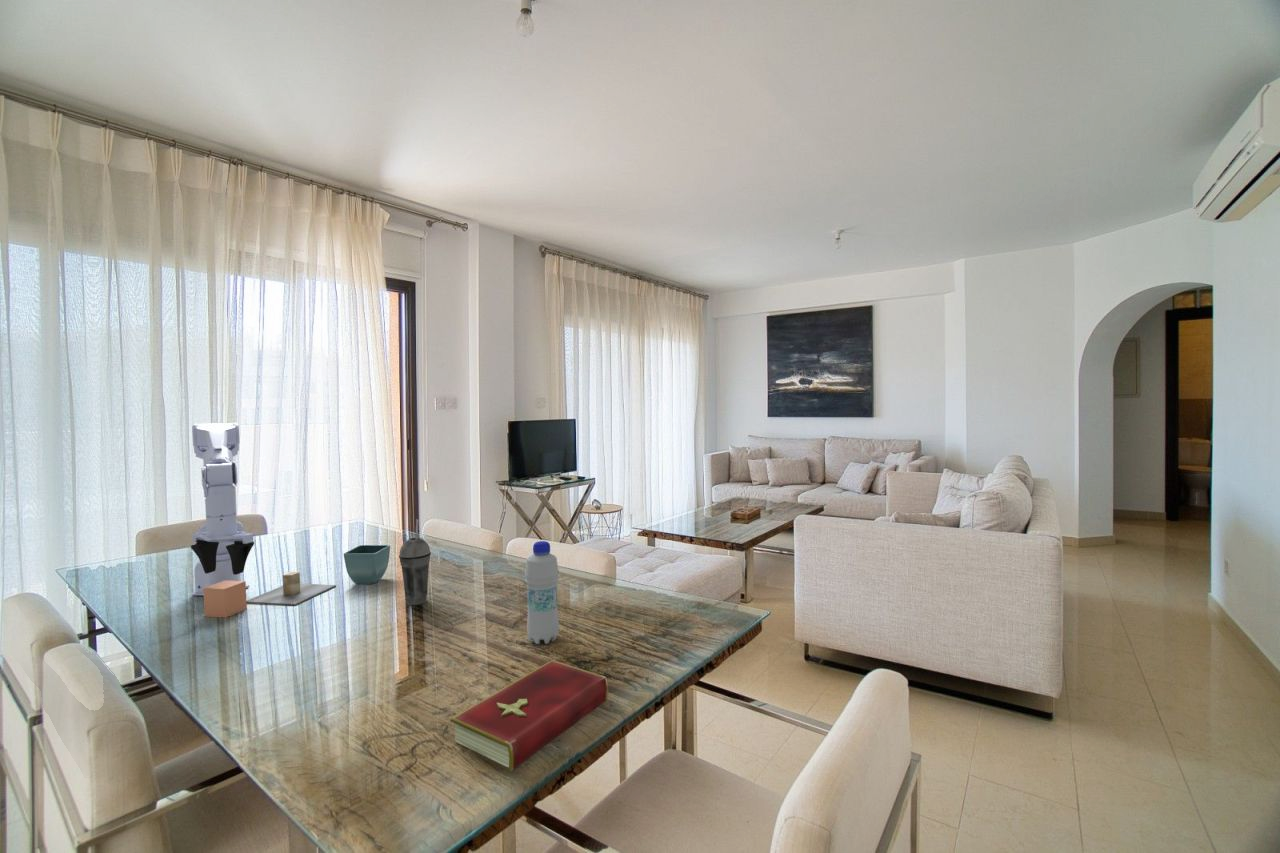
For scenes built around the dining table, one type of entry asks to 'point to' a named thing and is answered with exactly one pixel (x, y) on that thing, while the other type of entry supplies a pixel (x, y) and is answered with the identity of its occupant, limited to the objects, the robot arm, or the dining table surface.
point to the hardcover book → (529, 712)
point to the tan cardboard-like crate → (224, 598)
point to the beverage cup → (415, 568)
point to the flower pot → (367, 563)
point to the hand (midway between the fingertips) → (224, 572)
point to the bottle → (542, 594)
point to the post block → (290, 592)
